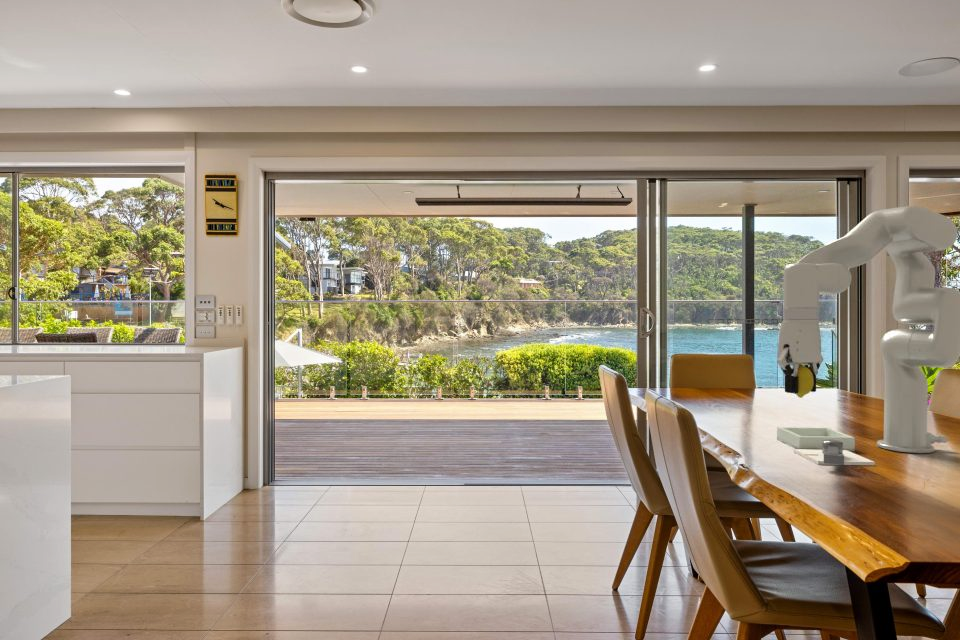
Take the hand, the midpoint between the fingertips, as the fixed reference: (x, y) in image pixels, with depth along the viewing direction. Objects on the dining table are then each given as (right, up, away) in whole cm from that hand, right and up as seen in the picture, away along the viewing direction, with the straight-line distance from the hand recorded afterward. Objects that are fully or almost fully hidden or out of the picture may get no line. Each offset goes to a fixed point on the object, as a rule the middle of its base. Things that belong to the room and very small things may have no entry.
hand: (800, 391), depth 150 cm
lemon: (0, -2, 0) cm, 2 cm away
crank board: (+11, -17, +6) cm, 21 cm away
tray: (+15, -17, +21) cm, 31 cm away
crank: (+8, -16, 0) cm, 18 cm away
